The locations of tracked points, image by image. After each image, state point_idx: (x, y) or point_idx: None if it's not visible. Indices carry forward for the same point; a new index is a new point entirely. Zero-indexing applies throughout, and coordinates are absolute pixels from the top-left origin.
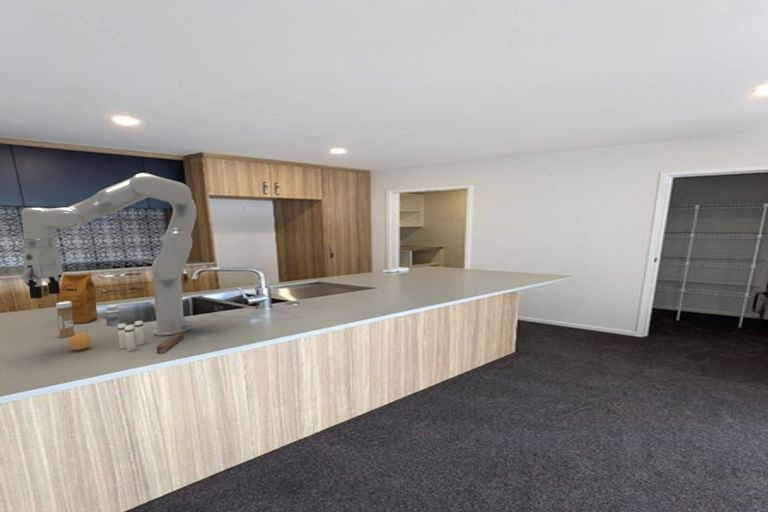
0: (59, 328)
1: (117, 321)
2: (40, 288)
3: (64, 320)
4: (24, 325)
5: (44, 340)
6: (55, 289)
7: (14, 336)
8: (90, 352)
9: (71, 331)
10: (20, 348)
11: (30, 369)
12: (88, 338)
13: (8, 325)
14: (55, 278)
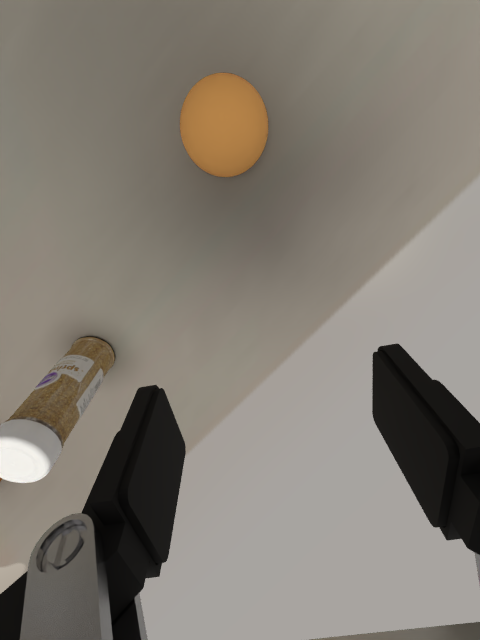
0: (102, 379)
1: None
2: (461, 417)
3: (78, 383)
4: None
5: (153, 377)
6: (159, 435)
7: None
8: (258, 33)
9: (82, 345)
10: (230, 375)
11: (441, 133)
12: (217, 73)
13: None
14: (104, 601)
